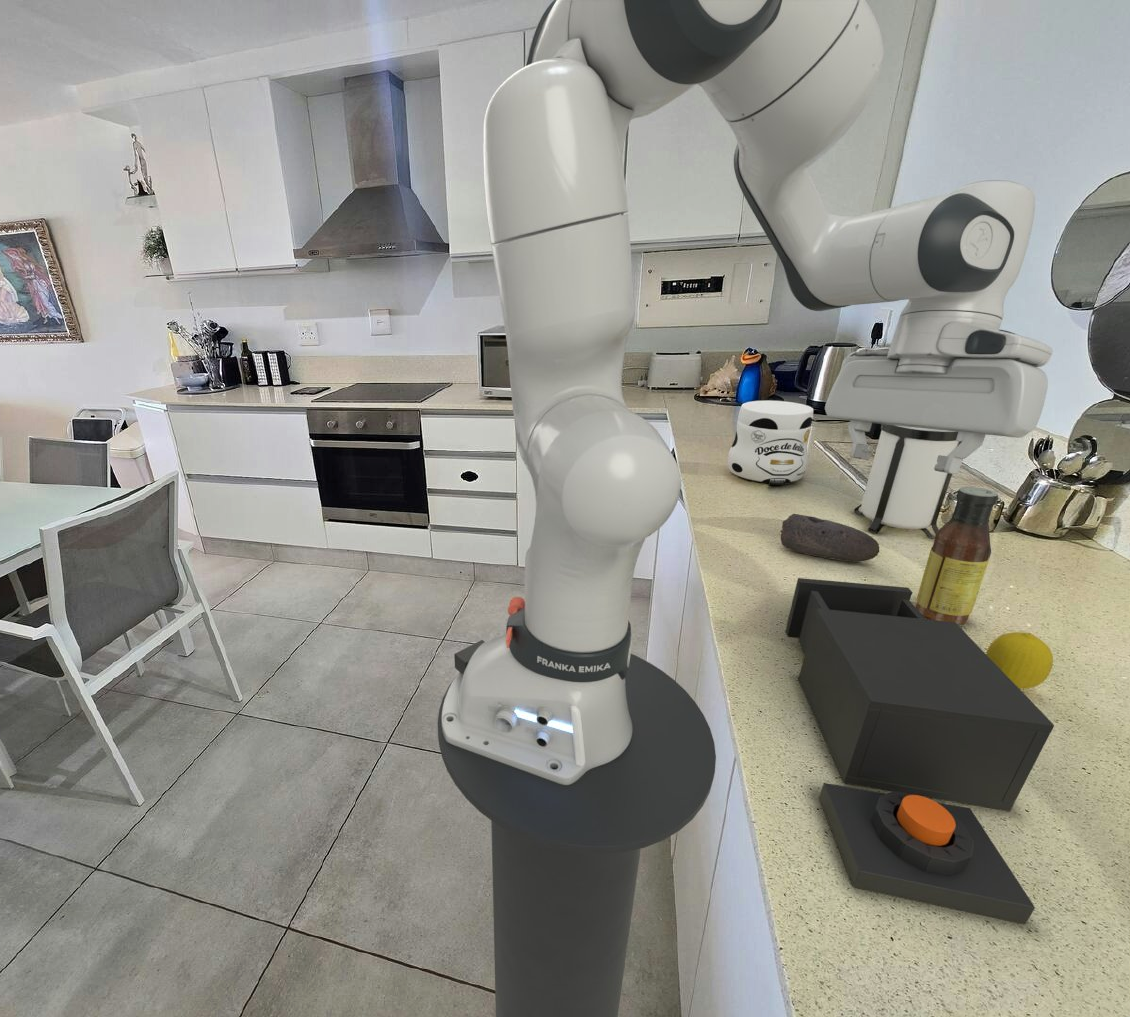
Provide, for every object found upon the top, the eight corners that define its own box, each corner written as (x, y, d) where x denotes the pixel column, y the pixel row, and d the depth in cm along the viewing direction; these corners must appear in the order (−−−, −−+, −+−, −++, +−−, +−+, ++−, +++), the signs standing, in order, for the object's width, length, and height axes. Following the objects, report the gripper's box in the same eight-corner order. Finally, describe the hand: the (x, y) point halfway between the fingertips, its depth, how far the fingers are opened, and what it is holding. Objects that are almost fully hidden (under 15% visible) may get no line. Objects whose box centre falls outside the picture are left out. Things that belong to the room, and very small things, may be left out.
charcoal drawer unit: (797, 679, 70) (816, 608, 66) (926, 696, 66) (955, 622, 62) (843, 783, 56) (871, 700, 52) (1010, 811, 52) (1055, 725, 48)
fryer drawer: (777, 616, 81) (789, 563, 78) (877, 626, 78) (894, 572, 74) (818, 704, 65) (836, 643, 61) (947, 722, 61) (973, 658, 58)
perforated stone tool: (875, 560, 97) (885, 525, 94) (874, 573, 93) (885, 536, 90) (779, 541, 105) (786, 508, 102) (775, 551, 101) (782, 518, 99)
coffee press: (964, 531, 105) (1021, 375, 94) (908, 547, 100) (960, 384, 89) (873, 501, 120) (912, 363, 109) (820, 513, 116) (855, 370, 104)
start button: (907, 840, 46) (913, 827, 46) (889, 804, 50) (894, 790, 49) (958, 850, 46) (965, 836, 45) (936, 812, 49) (942, 799, 48)
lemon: (970, 667, 71) (991, 616, 68) (1027, 679, 68) (1052, 626, 65) (984, 694, 66) (1007, 641, 63) (1046, 708, 64) (1073, 653, 61)
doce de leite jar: (775, 495, 126) (791, 419, 118) (710, 475, 140) (720, 406, 132) (818, 480, 133) (835, 408, 126) (752, 462, 147) (764, 396, 140)
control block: (853, 887, 47) (864, 856, 45) (818, 798, 55) (827, 769, 53) (1025, 925, 43) (1044, 893, 42) (962, 823, 51) (976, 794, 50)
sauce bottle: (978, 623, 79) (1029, 497, 71) (945, 630, 78) (993, 503, 70) (932, 599, 85) (974, 481, 77) (900, 606, 84) (940, 486, 76)
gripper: (831, 343, 70) (800, 449, 73) (1041, 337, 51) (988, 479, 54) (863, 352, 72) (832, 454, 75) (1075, 349, 54) (1023, 485, 56)
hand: (899, 465), depth 64 cm, fingers open, 8 cm apart
